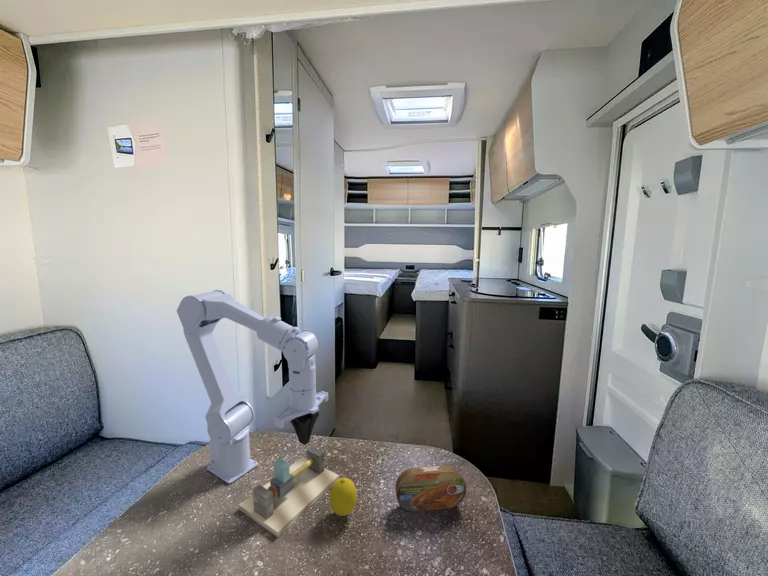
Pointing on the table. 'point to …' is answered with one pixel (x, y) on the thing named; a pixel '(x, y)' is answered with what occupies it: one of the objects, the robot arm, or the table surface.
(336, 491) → the lemon
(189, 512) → the table surface
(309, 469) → the rod and block board
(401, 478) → the tin
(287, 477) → the sleeve
